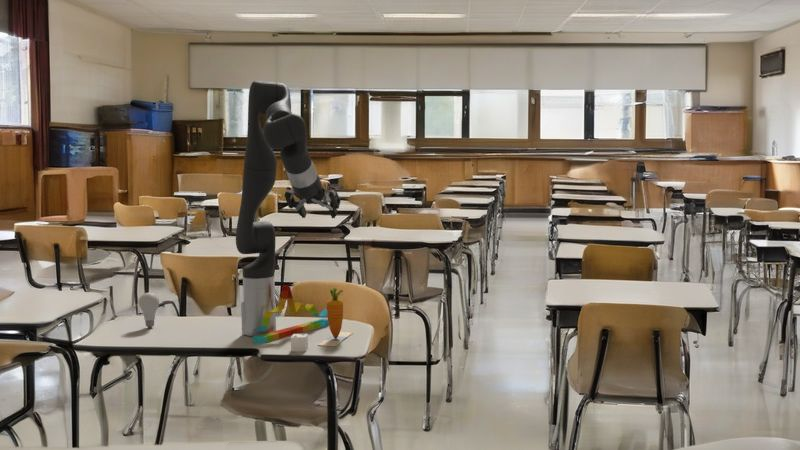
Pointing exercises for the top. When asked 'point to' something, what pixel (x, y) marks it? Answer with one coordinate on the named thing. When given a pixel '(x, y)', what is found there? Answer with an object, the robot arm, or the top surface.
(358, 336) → the top surface
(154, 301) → the lightbulb
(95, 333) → the top surface
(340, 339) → the flat strip
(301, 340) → the die
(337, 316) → the carrot
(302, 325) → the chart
